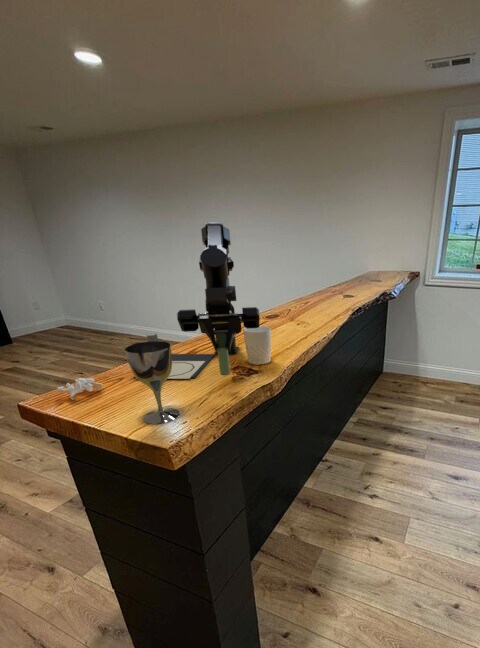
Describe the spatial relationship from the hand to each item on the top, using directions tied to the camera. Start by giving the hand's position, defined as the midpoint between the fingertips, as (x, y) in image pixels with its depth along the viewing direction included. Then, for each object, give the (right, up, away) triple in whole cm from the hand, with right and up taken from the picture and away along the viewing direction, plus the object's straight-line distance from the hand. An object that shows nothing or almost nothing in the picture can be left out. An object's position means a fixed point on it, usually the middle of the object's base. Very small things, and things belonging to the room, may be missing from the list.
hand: (222, 349), depth 81 cm
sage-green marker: (0, -6, +4) cm, 7 cm away
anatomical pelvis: (-33, -11, +1) cm, 35 cm away
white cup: (+4, -1, +24) cm, 24 cm away
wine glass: (-10, -15, -9) cm, 20 cm away
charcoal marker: (-23, -4, +16) cm, 28 cm away
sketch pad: (-19, -3, +20) cm, 27 cm away
